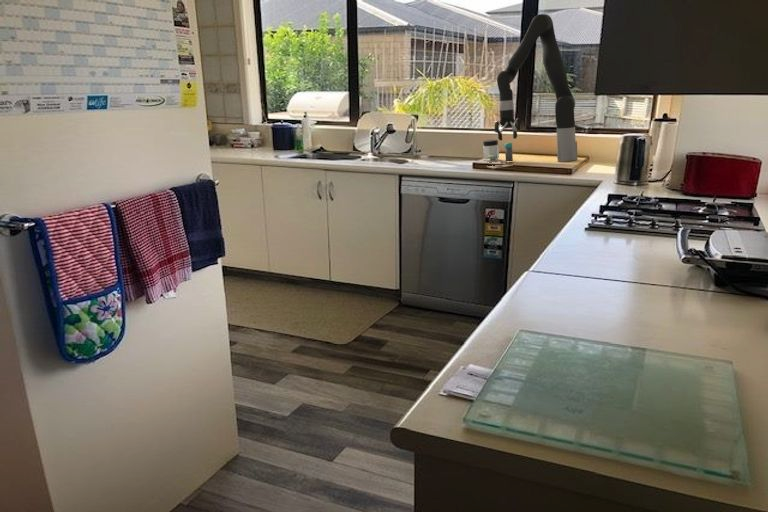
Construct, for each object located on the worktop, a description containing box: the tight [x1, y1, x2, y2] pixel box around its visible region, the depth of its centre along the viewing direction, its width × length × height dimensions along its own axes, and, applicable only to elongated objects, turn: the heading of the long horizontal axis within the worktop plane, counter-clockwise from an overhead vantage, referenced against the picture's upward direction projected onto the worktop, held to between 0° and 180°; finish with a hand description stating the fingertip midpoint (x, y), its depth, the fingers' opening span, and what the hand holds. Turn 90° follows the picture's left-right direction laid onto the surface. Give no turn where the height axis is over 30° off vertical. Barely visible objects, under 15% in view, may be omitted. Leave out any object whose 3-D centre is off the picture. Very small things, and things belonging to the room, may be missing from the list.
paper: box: [485, 164, 514, 169], centre depth 319 cm, size 12×9×1 cm
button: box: [488, 155, 497, 161], centre depth 328 cm, size 5×5×3 cm
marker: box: [504, 142, 514, 162], centre depth 326 cm, size 4×4×11 cm
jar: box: [482, 139, 500, 160], centre depth 338 cm, size 9×8×12 cm
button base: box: [483, 158, 502, 163], centre depth 328 cm, size 7×7×2 cm
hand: (507, 139), depth 324 cm, fingers open, 8 cm apart
